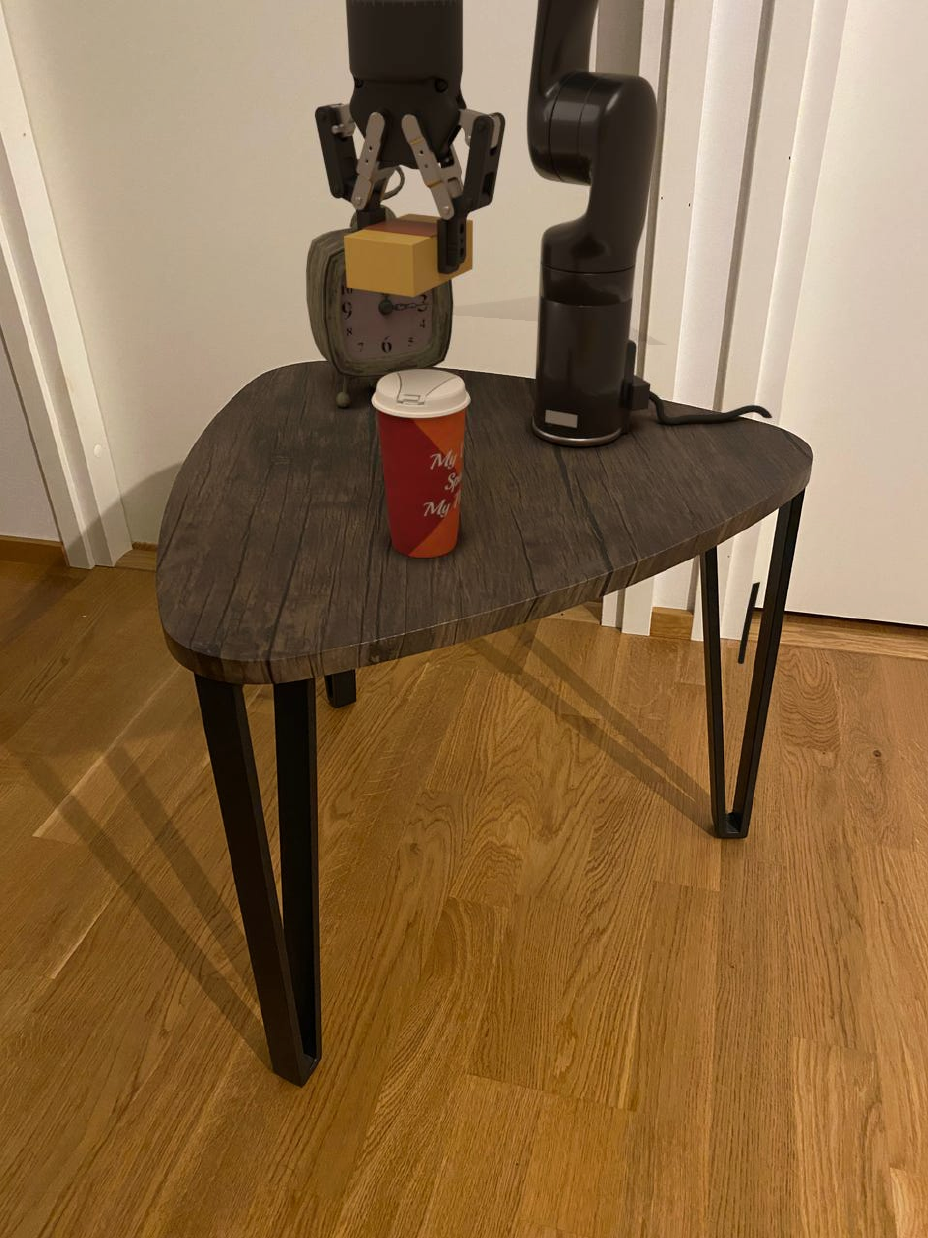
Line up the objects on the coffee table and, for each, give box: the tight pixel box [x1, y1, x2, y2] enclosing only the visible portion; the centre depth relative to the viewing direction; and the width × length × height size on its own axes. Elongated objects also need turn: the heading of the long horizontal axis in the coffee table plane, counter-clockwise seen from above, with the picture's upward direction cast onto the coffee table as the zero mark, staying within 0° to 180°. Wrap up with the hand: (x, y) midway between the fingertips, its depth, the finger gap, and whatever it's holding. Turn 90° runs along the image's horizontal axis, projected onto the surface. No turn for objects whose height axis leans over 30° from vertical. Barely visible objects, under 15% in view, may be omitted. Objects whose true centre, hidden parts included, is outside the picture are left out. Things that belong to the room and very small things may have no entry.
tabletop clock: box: [305, 158, 454, 408], centre depth 106 cm, size 14×9×25 cm, turn 111°
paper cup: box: [371, 368, 471, 559], centre depth 80 cm, size 8×8×14 cm
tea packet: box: [344, 213, 474, 297], centre depth 71 cm, size 9×6×4 cm, turn 152°
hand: (411, 265), depth 72 cm, fingers closed on tea packet, 5 cm apart
